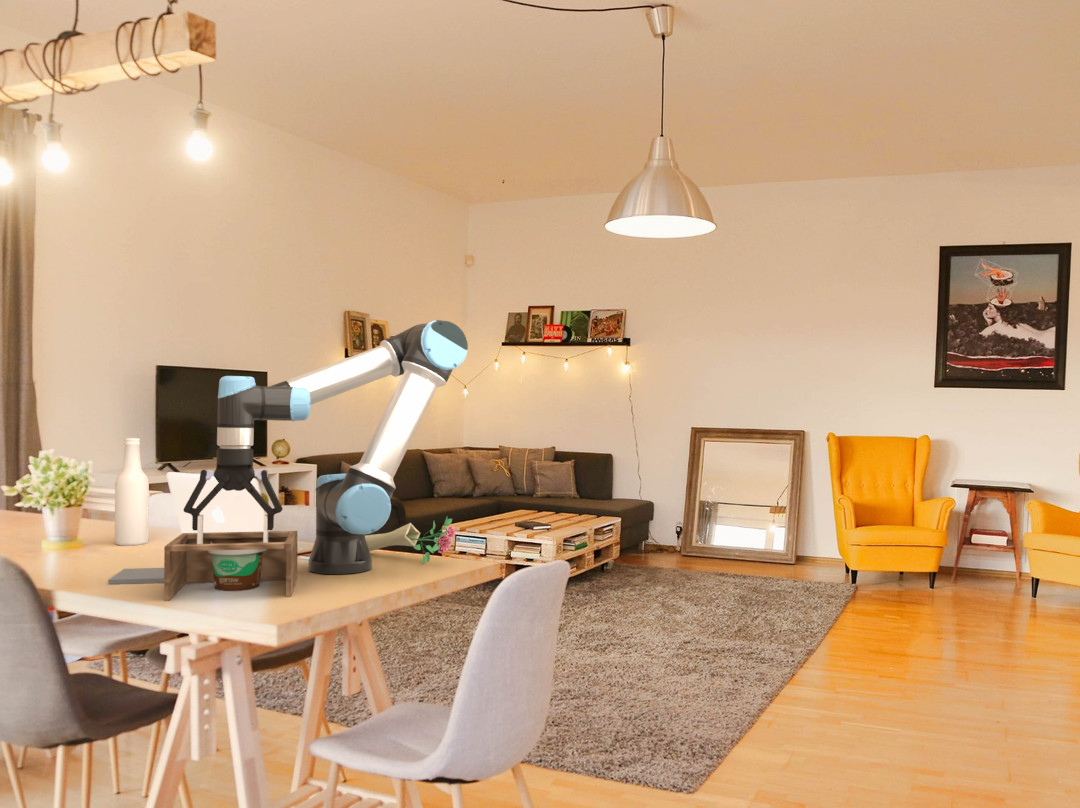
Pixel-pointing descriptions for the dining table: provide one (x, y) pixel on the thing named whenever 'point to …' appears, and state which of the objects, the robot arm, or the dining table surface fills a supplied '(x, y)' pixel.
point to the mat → (138, 576)
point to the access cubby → (195, 561)
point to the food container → (236, 569)
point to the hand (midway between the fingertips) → (232, 545)
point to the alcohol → (131, 499)
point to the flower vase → (412, 539)
